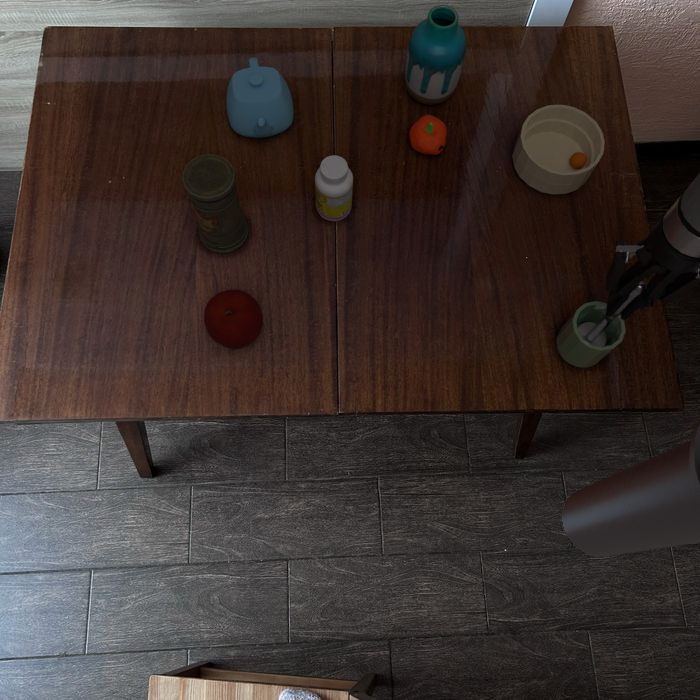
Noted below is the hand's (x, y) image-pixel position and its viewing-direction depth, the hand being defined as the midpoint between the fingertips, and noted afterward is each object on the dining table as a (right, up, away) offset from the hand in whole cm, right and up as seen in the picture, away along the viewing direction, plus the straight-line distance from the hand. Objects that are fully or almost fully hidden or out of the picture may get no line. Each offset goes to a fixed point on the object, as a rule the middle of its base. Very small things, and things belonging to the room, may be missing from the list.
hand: (616, 309), depth 105 cm
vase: (-25, +45, +32) cm, 61 cm away
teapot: (-58, +38, +29) cm, 75 cm away
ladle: (0, -5, +13) cm, 14 cm away
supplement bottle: (-43, +20, +23) cm, 53 cm away
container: (-63, +15, +21) cm, 68 cm away
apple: (-60, -3, +14) cm, 62 cm away
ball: (+3, +30, +25) cm, 39 cm away
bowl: (-2, +30, +28) cm, 41 cm away
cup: (-1, -5, +15) cm, 16 cm away
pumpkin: (-26, +34, +28) cm, 51 cm away
